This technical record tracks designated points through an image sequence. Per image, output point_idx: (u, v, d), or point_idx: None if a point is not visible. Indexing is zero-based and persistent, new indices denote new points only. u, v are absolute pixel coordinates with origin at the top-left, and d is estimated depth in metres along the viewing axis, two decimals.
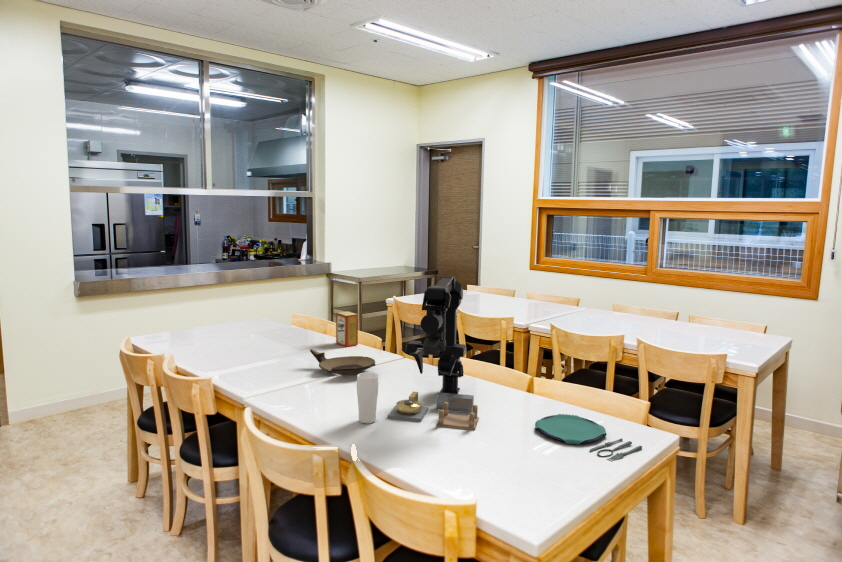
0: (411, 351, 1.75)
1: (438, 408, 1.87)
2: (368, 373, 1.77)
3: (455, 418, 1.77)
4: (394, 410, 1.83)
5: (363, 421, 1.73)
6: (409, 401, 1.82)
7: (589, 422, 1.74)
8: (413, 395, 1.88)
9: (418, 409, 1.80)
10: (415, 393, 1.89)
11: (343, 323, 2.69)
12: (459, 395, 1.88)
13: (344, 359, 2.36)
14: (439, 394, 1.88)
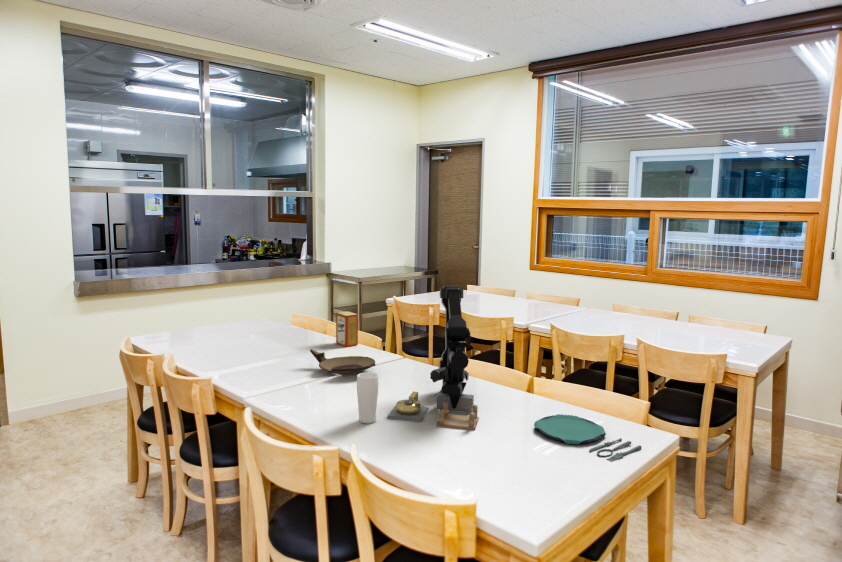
0: None
1: (438, 407, 1.87)
2: (368, 373, 1.77)
3: (455, 418, 1.77)
4: (394, 410, 1.83)
5: (363, 421, 1.73)
6: (409, 401, 1.82)
7: (588, 422, 1.74)
8: (413, 395, 1.88)
9: (418, 409, 1.80)
10: (415, 393, 1.89)
11: (343, 323, 2.69)
12: None
13: (344, 359, 2.36)
14: (439, 393, 1.88)
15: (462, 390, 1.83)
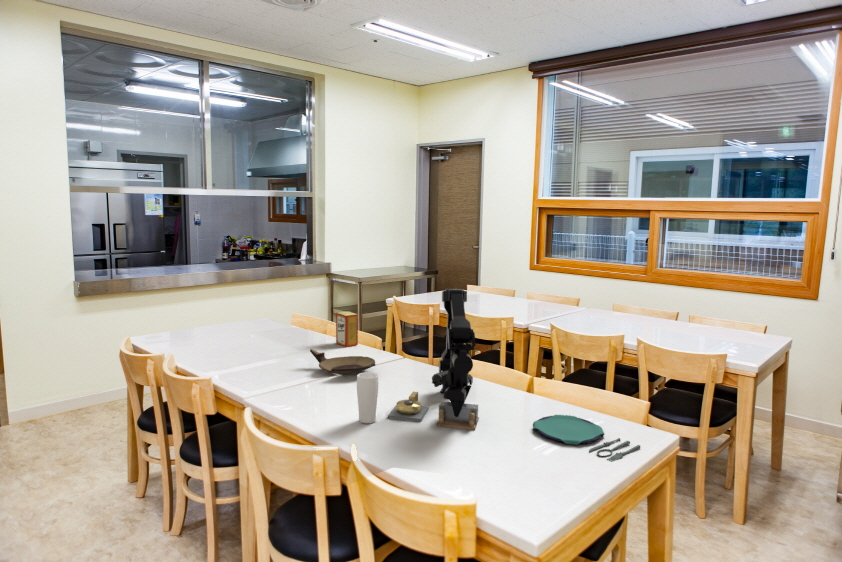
0: None
1: None
2: (368, 373, 1.77)
3: None
4: (394, 410, 1.83)
5: (363, 421, 1.73)
6: (409, 401, 1.82)
7: (586, 422, 1.74)
8: (413, 395, 1.88)
9: (418, 409, 1.80)
10: (415, 393, 1.89)
11: (343, 323, 2.69)
12: (463, 404, 1.76)
13: (344, 359, 2.36)
14: (441, 403, 1.76)
15: (465, 397, 1.69)
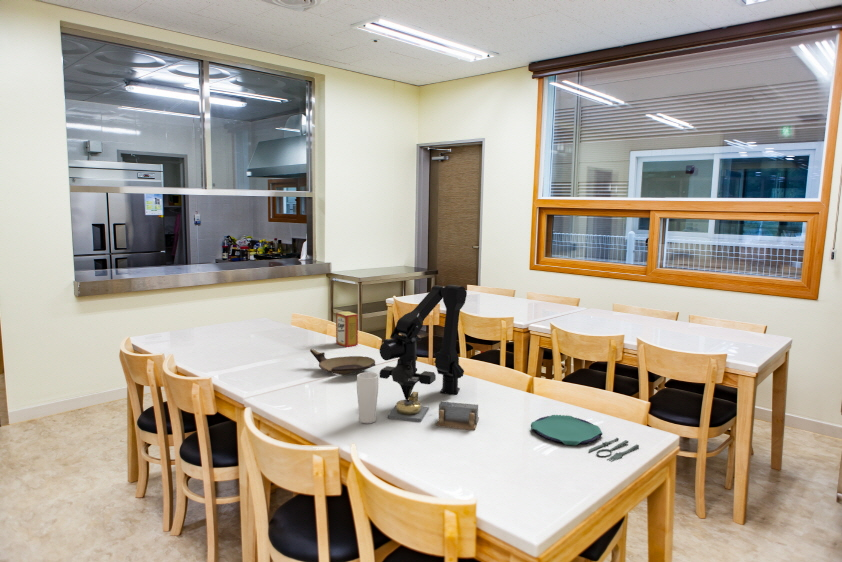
0: (384, 377, 1.89)
1: None
2: (368, 373, 1.77)
3: None
4: (394, 410, 1.83)
5: (363, 421, 1.73)
6: (409, 401, 1.82)
7: (583, 422, 1.74)
8: (413, 395, 1.88)
9: (418, 409, 1.80)
10: (415, 393, 1.89)
11: (343, 323, 2.69)
12: (463, 404, 1.76)
13: (344, 359, 2.36)
14: (441, 403, 1.76)
15: None
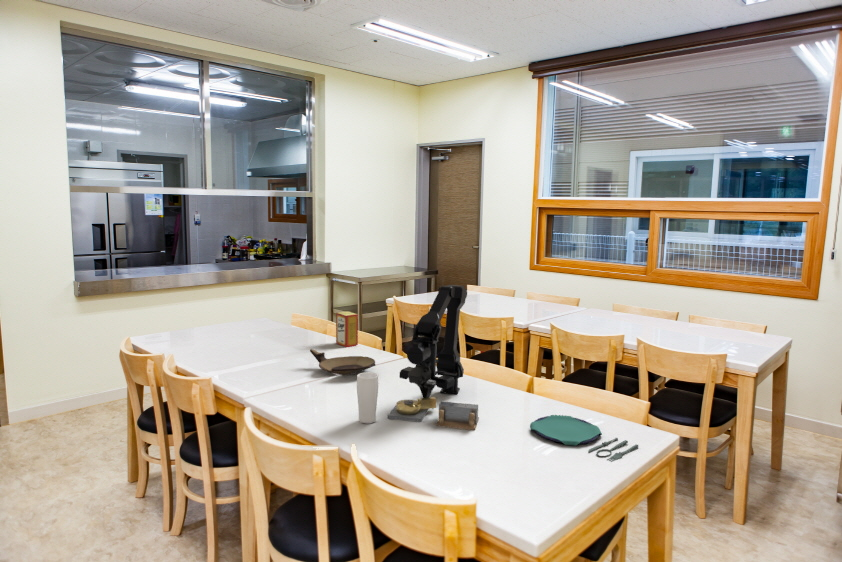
0: (403, 377, 1.87)
1: None
2: (368, 373, 1.77)
3: None
4: (394, 410, 1.83)
5: (363, 421, 1.73)
6: (408, 401, 1.82)
7: (582, 422, 1.74)
8: (425, 398, 1.84)
9: (408, 411, 1.78)
10: (430, 398, 1.85)
11: (343, 323, 2.69)
12: (463, 404, 1.76)
13: (344, 359, 2.36)
14: (441, 403, 1.76)
15: None
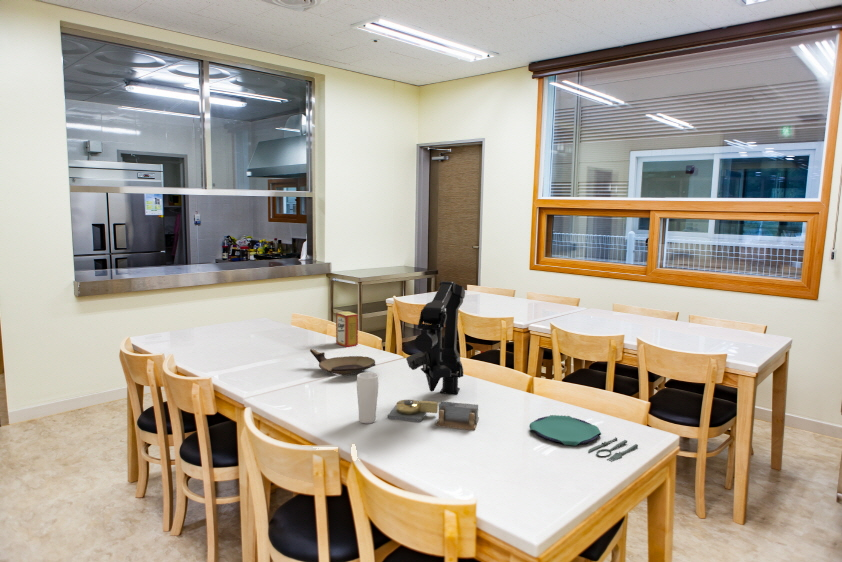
0: None
1: None
2: (368, 373, 1.77)
3: None
4: (394, 410, 1.83)
5: (363, 421, 1.73)
6: (408, 401, 1.82)
7: (582, 422, 1.74)
8: (426, 402, 1.81)
9: (402, 410, 1.79)
10: (431, 402, 1.81)
11: (343, 323, 2.69)
12: (463, 404, 1.76)
13: (344, 359, 2.36)
14: (441, 403, 1.76)
15: None
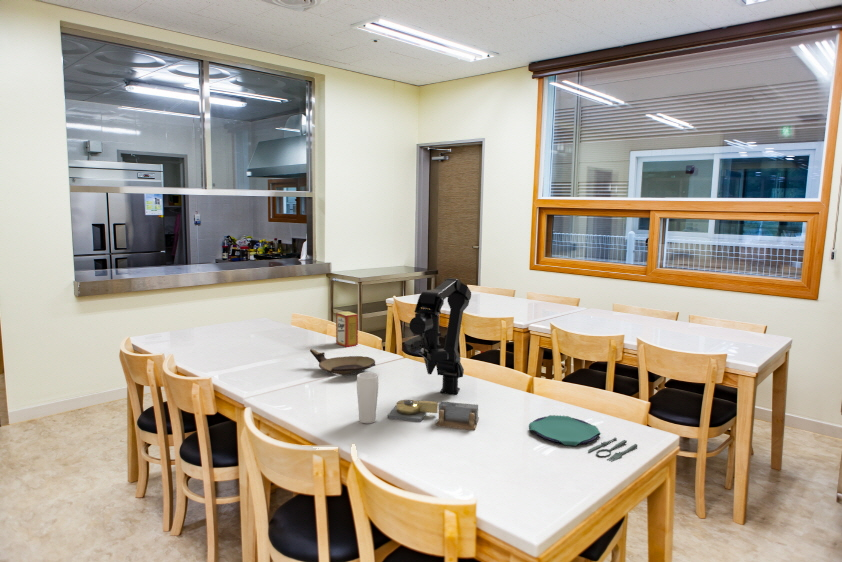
0: None
1: None
2: (368, 373, 1.77)
3: None
4: (394, 410, 1.83)
5: (363, 421, 1.73)
6: (408, 401, 1.82)
7: (581, 422, 1.74)
8: (426, 402, 1.81)
9: (402, 410, 1.79)
10: (431, 402, 1.81)
11: (343, 323, 2.69)
12: (463, 404, 1.76)
13: (344, 359, 2.36)
14: (441, 403, 1.76)
15: None
